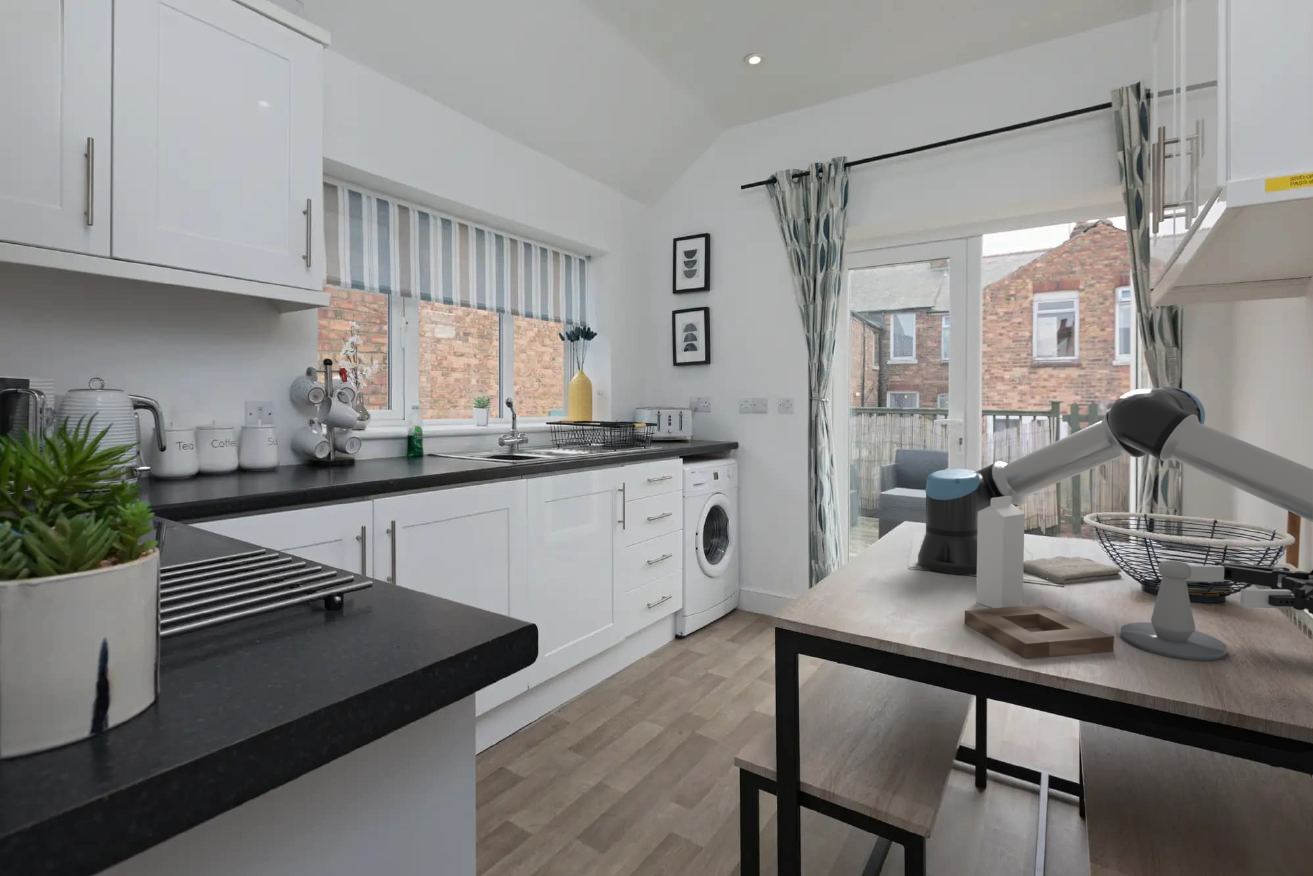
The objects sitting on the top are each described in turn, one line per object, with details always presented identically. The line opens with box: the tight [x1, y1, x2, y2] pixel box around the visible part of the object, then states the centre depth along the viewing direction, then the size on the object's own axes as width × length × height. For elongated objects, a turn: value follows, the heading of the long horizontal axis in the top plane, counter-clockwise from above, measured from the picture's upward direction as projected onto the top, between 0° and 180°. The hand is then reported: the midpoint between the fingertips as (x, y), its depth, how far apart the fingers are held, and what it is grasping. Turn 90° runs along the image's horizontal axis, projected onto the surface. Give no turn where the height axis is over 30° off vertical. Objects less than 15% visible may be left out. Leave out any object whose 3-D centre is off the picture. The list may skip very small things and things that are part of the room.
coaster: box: [1119, 621, 1228, 662], centre depth 108 cm, size 14×14×1 cm
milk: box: [975, 496, 1026, 608], centre depth 128 cm, size 6×6×22 cm
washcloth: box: [1023, 555, 1122, 585], centre depth 148 cm, size 12×18×3 cm, turn 105°
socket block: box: [964, 604, 1115, 660], centre depth 112 cm, size 16×16×2 cm
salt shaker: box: [1150, 560, 1196, 642], centre depth 107 cm, size 6×6×13 cm
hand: (1209, 584), depth 106 cm, fingers open, 13 cm apart
